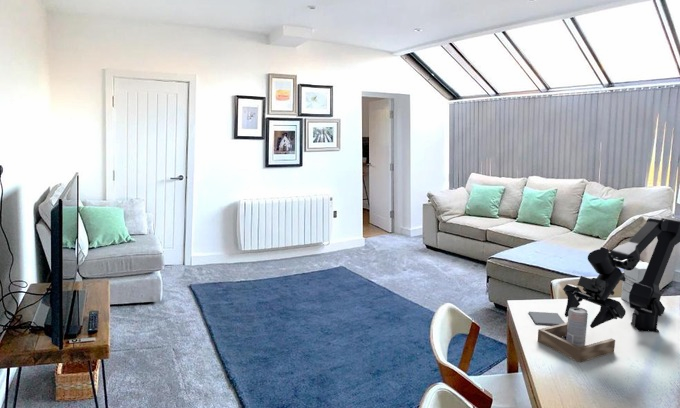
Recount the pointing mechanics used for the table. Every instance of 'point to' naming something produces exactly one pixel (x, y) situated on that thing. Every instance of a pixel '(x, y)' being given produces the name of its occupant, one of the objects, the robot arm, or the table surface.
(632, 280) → the supplement box
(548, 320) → the mat
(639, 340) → the table surface
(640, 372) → the table surface
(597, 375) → the table surface
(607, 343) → the bay
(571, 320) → the energy drink
